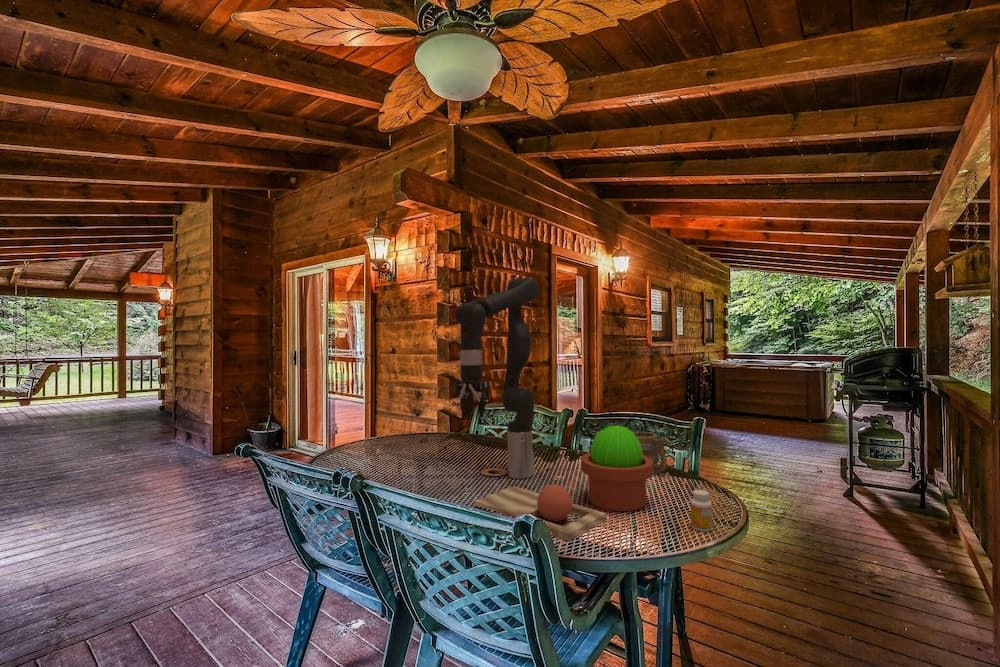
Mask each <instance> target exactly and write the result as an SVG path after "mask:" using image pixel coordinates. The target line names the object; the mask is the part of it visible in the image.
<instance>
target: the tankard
mask: <svg viewBox="0 0 1000 667" xmlns="http://www.w3.org/2000/svg"><path fill="white" fill-rule="evenodd" d="M632 432H633V433H634V434H635V436H636V437H637V438H638V440H639V442H640V444H641V447H642V452H643V455H644V456H647V457H649V458H650V459H652V461H653V463H654V474H653V476H654V475H658V474H659V475H660V474H661V472H665V470H666V468H667V463H668V462H667V461H668V460H667V455H666V451H665V445H666V446H670V445H671V443H672V441H670V439H669V438H668V437H662V438H659V439H658V434H656V433H654V432H651V431H632ZM639 437H640V438H639ZM643 448H644V449H643ZM659 461H660V464H658V463H659Z"/></svg>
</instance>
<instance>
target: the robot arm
mask: <svg viewBox="0 0 1000 667" xmlns="http://www.w3.org/2000/svg"><path fill="white" fill-rule="evenodd" d="M539 288H540V287H539V284H538V282H537V281H536V280H535V279H534V278H531V277H524V278H515V279H514V278H513V279H511V280H510V281H509V283H508V285H507V290H502V291H498V292H494V293H491V294H489V295H487V296H484V297H482V298H480V299H479V298H478V299H477V300H473V301H469V302H465V303H462V304H460V305H459V306H458V307H457V308H456V310H455V312H454V318H455V319H456V322H457V323H458V324H460V325H462V326H468V329H467V331H465V332H462V334H461V335H460V353H459V354H460V355H459V367H460V368H459V370H460V371H459V373H460V374H459V376H460V379H455V390H454V391H455V397H456V398H458V399H459V406H460V407H459V408H460V411H462V412H463V411H467V410H468V401H467V400H468V399H467V397H468V396H469V395H470V394H471V395H473V397H475V398H476V399H477V413H478V414H484V413H485V407H486V406H485V403H486V401H489V400H490V388H489V385H490V384H489V381H488V380H486V381H482V378H483V374H484V373H483V370H484V369H483V367H484V366H483V365H484V364H483V352H482V336H483V334H484V329H485V323H486V320H487V319H486V318H490V317H492V316H494V315H496V314H498V313H500V312H503V311H505V310H507V338H506V340H507V341H506V363H505V364H506V365H505V377H504V385H503V389H502V390H503V391H502V405H503V408H504V409H505V410H506V411H507V412H513V413H516V417H515V420H511V421H509V422H507V467H508V468H507V470H508V472H507V474H508V477H509V478H511V479H514V478H515V479H516V480H525V478H526V479H530V478H532V477H533V476H532V475H535V450H534V448H533V424H534V413H535V398H534V394H533V392H532V390H531V389H529V388H523V387H520V377H521V374H522V371H523V370H524V368H525V366H526V364H527V362H528V360H529V358H530V357H531V352H532V334H531V331H530V330H529V328H528V325H527V324H526V322H525V320H524V317H523V312H522V311H523V310H522V307H523V306H522V304H524V303H529V302H532V301H535V300H536V299H537V297H538V295H539V292H540V289H539ZM531 476H532V477H531ZM529 477H530V478H529Z"/></svg>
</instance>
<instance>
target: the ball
mask: <svg viewBox="0 0 1000 667" xmlns="http://www.w3.org/2000/svg"><path fill="white" fill-rule="evenodd" d="M538 494H539V495H538V499H537V505H538V509H539V511H540V513H541V514H542V515H541V516H543V518H545V519H546V520H548V521H549V522H550V521H551V522H560V521H562V520H563V521H564V519H566V518H567V517H568V516H569V515H570V514H571V513H570V511H571V508H572V504H573V499H572V496H571V494H570V492H569V491H568V490H567V489H566V488H565V487H563V486H561V485H559V484H554V483H553V484H548V485H546V486H545V487H543V488H542V489H541V490H540V492H539V493H538Z"/></svg>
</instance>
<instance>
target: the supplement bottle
mask: <svg viewBox="0 0 1000 667" xmlns="http://www.w3.org/2000/svg"><path fill="white" fill-rule="evenodd" d="M692 492H693V493H692V496H693V498H691V500H690V527H691V528H693V529H694V530H696V531H700V532H709V531H712V529H713V503H712V501H711V500H710V499H709V498H710V493H709V491H706V490H703V489H694V490H693V491H692Z"/></svg>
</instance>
